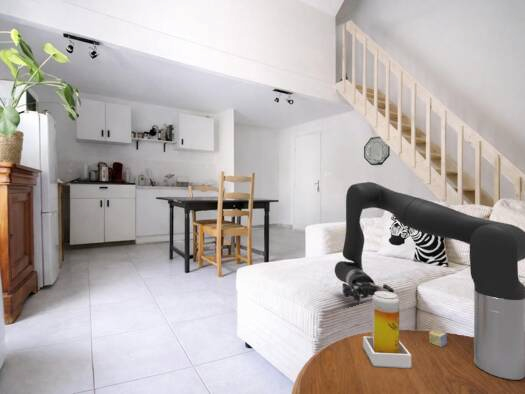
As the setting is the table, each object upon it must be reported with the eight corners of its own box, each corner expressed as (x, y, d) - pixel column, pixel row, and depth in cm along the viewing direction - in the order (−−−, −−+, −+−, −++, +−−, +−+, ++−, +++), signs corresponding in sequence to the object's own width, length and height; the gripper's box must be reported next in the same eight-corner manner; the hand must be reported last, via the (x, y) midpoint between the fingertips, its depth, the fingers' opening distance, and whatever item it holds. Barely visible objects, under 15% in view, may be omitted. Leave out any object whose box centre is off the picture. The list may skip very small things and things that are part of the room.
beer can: (401, 363, 69) (402, 299, 69) (374, 360, 70) (374, 297, 70) (395, 350, 75) (396, 291, 75) (370, 347, 76) (370, 289, 76)
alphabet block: (441, 347, 78) (441, 336, 78) (428, 343, 80) (428, 331, 80) (446, 344, 79) (446, 333, 79) (434, 340, 82) (434, 329, 82)
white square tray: (397, 349, 77) (397, 337, 77) (411, 368, 68) (411, 355, 68) (363, 347, 77) (363, 336, 77) (372, 366, 69) (373, 353, 69)
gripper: (337, 270, 100) (348, 284, 83) (381, 271, 99) (400, 285, 82) (337, 293, 100) (348, 311, 83) (381, 294, 99) (400, 312, 82)
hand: (374, 298), depth 83 cm, fingers open, 8 cm apart
